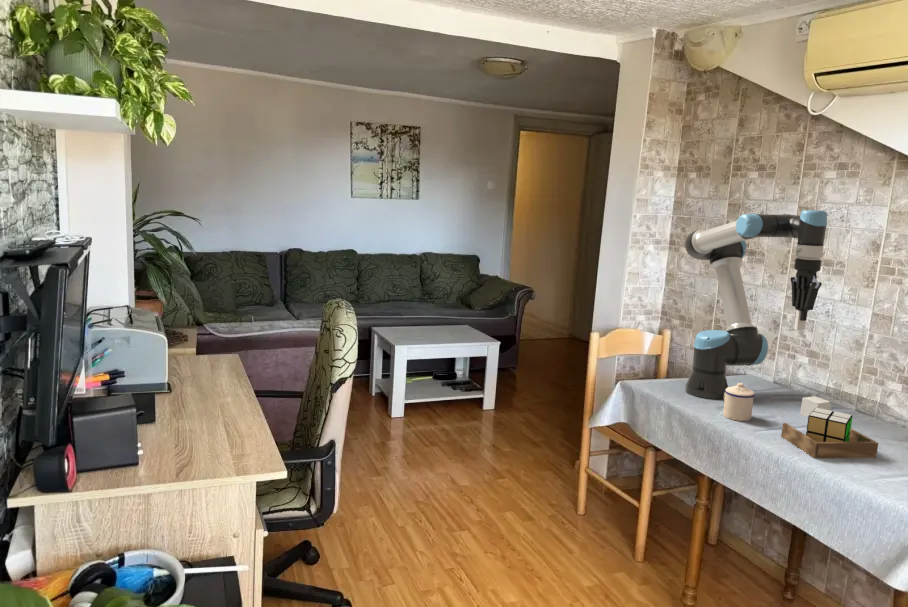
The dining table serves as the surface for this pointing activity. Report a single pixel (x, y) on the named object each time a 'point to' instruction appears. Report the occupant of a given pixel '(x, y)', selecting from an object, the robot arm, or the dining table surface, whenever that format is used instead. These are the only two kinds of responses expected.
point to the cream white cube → (813, 405)
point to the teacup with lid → (738, 403)
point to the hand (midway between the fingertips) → (799, 329)
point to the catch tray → (832, 445)
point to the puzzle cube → (828, 426)
